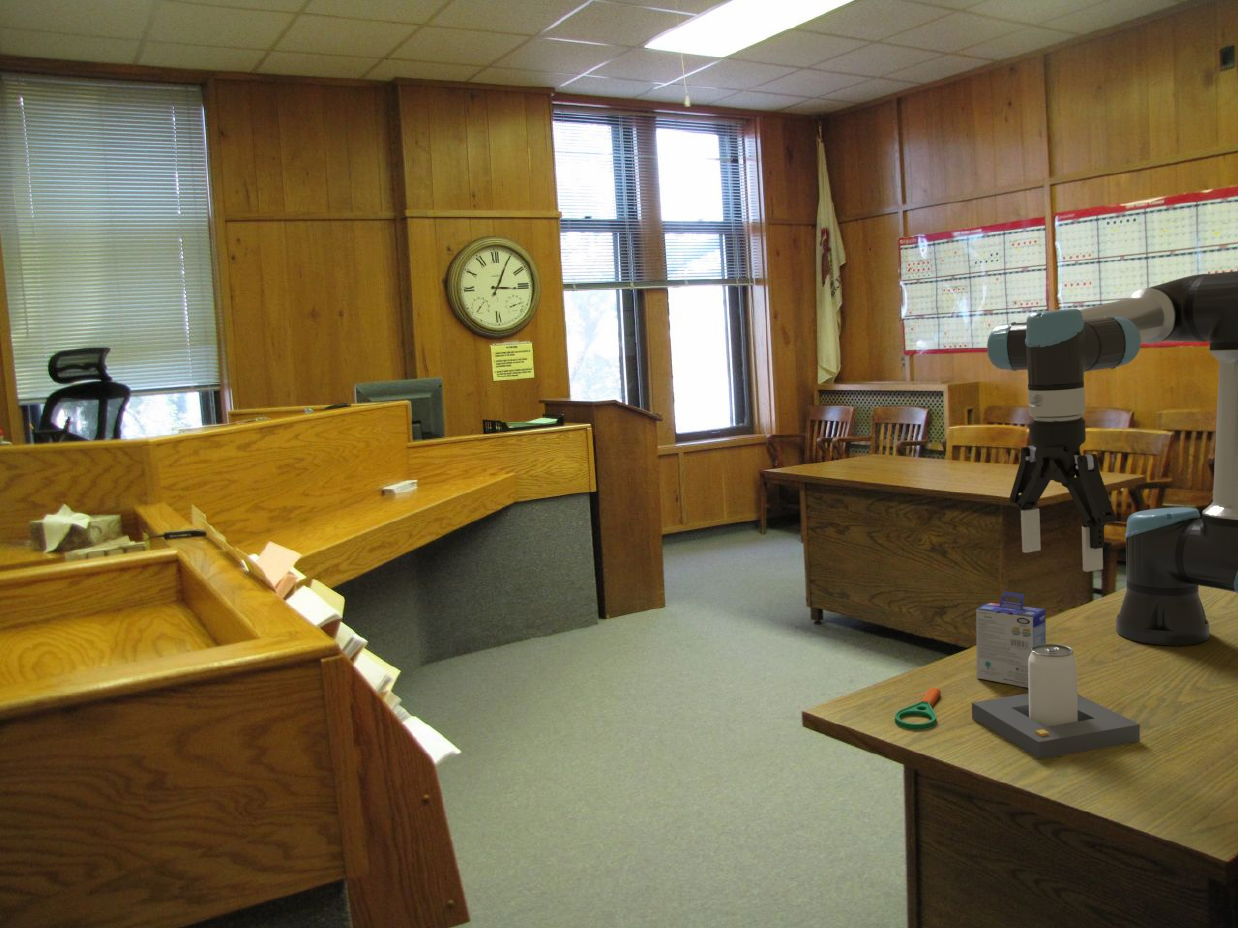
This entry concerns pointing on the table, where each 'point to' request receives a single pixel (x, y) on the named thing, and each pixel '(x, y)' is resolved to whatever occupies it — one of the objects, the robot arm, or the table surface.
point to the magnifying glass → (920, 711)
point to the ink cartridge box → (1007, 639)
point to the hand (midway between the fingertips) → (1060, 560)
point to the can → (1052, 685)
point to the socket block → (1055, 727)
